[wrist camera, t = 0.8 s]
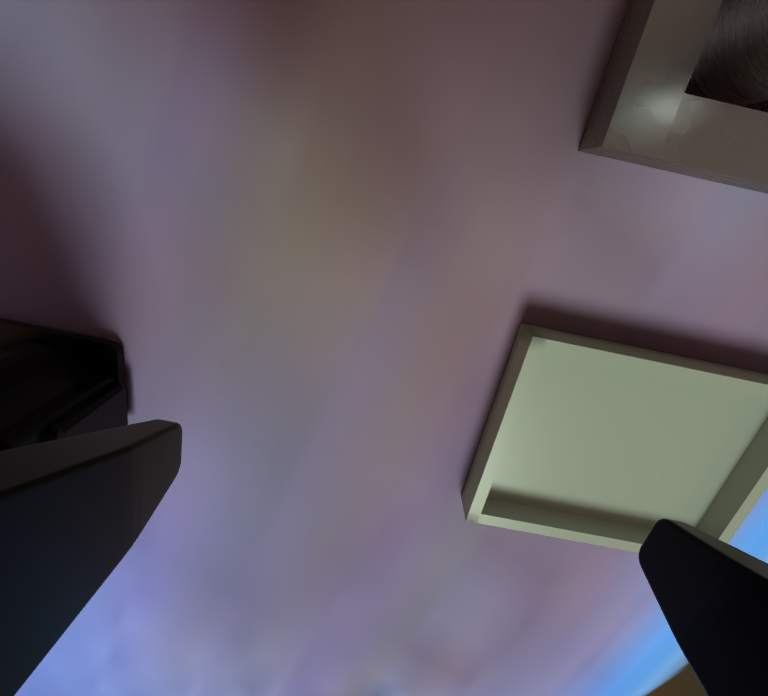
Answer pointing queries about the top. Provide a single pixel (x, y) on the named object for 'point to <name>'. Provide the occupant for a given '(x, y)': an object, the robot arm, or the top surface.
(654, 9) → the receiver socket
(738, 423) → the tray
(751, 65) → the pin
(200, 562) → the top surface
